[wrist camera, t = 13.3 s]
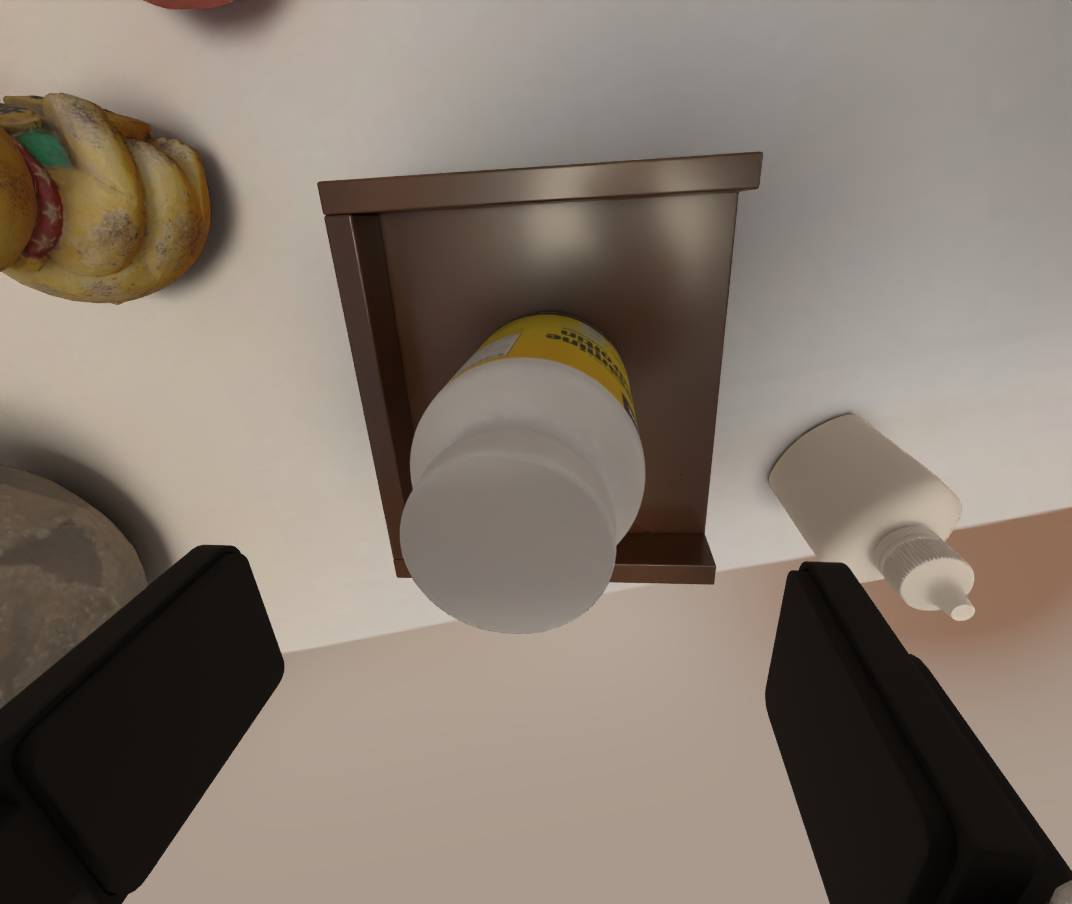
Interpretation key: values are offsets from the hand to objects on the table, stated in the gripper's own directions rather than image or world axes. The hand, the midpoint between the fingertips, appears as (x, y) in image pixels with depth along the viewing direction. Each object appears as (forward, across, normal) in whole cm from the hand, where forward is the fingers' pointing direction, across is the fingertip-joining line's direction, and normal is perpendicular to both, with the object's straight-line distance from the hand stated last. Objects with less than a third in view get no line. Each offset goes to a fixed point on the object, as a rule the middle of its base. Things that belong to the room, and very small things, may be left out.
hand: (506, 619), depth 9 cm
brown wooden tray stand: (+20, +1, 0) cm, 20 cm away
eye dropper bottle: (+20, -13, +6) cm, 25 cm away
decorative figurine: (+20, +21, -8) cm, 30 cm away
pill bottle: (+14, 0, 0) cm, 14 cm away
